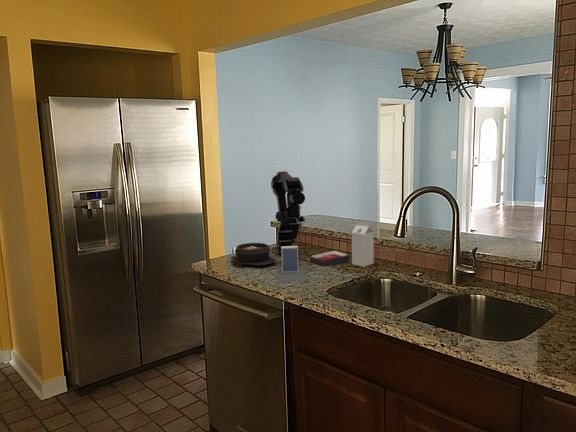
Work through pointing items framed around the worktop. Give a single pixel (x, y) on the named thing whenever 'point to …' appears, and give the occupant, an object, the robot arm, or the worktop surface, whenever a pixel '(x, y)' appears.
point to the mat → (291, 276)
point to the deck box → (289, 258)
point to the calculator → (330, 258)
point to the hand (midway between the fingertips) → (295, 238)
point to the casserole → (253, 254)
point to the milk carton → (362, 245)
